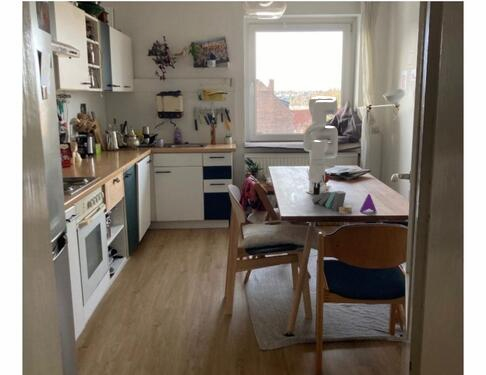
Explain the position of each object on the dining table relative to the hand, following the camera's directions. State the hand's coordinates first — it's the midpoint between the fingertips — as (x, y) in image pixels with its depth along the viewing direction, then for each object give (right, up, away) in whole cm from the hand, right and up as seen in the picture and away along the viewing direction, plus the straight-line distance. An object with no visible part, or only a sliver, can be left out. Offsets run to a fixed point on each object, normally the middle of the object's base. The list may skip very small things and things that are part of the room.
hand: (316, 193), depth 252 cm
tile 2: (+3, -5, -4) cm, 7 cm away
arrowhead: (+24, -9, -18) cm, 32 cm away
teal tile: (+6, -7, -10) cm, 13 cm away
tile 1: (0, -4, +1) cm, 4 cm away
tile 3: (+9, -8, -15) cm, 19 cm away
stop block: (+12, -9, -20) cm, 25 cm away
